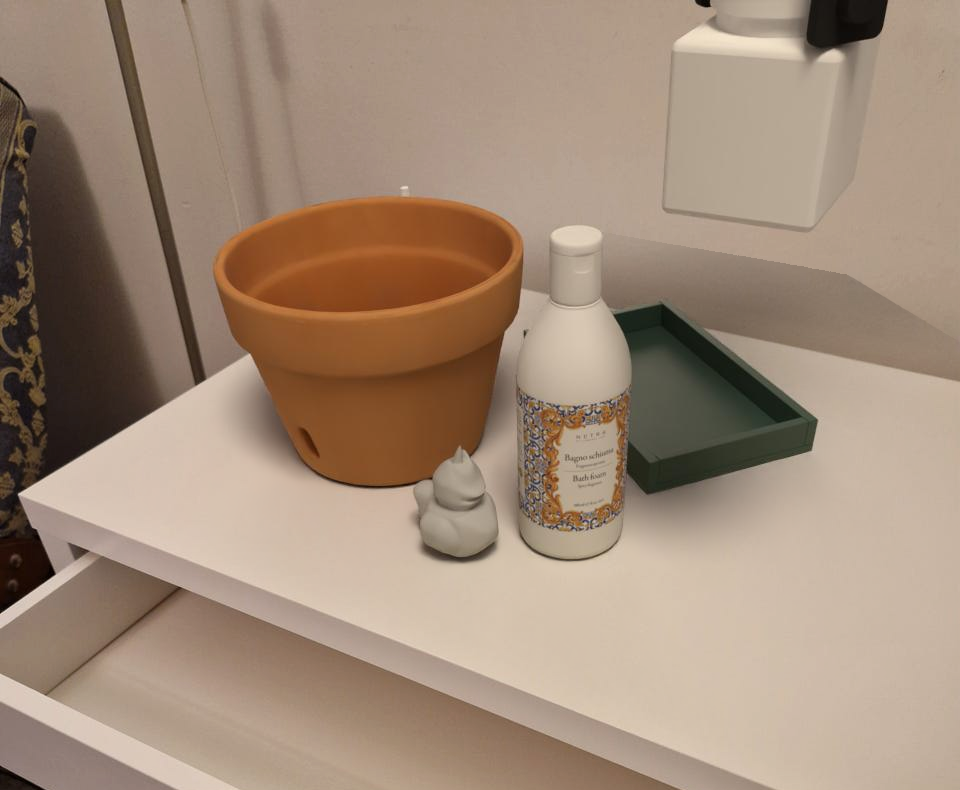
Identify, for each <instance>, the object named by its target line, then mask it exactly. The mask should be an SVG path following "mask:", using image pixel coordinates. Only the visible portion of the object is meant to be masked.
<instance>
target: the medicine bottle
mask: <svg viewBox="0 0 960 790" xmlns="http://www.w3.org/2000/svg"><path fill="white" fill-rule="evenodd" d="M710 5H711V7H710V8H712V9H714V10H716V14H715V15H713V16H711V17H710V18H708V19H707V20H705V21H704V22H703V23H701V24H699V25H697V26H695V28H693V29H691V30H690V31H688V32H687V33H686V34H684V35H683V36H681V37H680V38H678V39H676V41H675V42H673V44H672V47H671V53H670V68H669V69H670V70H669V85H668V102H667V118H666V133H665V147H664V164H663V165H664V166H663V179H662V180H663V181H662V195H661V196H662V197H661V198H662V199H661V208H662V210H663V211H664V212H665V213H666V214H672V215H678V216H684V217H690V218H691V217H692V218H700V219H706V220H713V221H720V222H725V223H727V222H728V223H734V224H741V225H748V226H753V227H762V228H769V229H776V230H782V231H789V232H796V233H797V232H798V233H803V234H804V233H805V234H806V233H807V234H808V233H810V232H811V231H813V230H814V229H815V228H816V226H817V225H818V224H819V222H821V220H822V219H823V218H824V216H825V215H826V214H827V213H828V212H829V210H830V209H831V208H832V207H833V205H834V204H835V203H836V202H837V200H838V199H839V198H840V197H841V195H842V194H844V192H845V191H846V189H847V188H848V187H849V186H850V184H851V183H852V182H853V180H854V178H855V177H856V170H857V165H858V160H859V154H860V149H861V144H862V140H863V139H862V138H863V133H864V128H865V122H866V117H867V112H868V107H869V106H868V105H869V102H870V97H871V96H870V95H871V90H872V87H873V80H874V76H875V70H876V64H877V58H878V53H879V48H880V42H881V38H882V33H883V30H882V31H881V33H880V34H879V35H878V36H877V37H876V38H873V39H868V40H862V41H857V42H851V43H845V44H840V45H834V46H829V47H823V48H818V47H815V46H812V45H810V44H809V43H808V42H807V36H806V33H807V26H808V19H809V12H810V5H811V0H710Z"/></svg>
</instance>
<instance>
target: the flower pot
mask: <svg viewBox="0 0 960 790" xmlns="http://www.w3.org/2000/svg"><path fill="white" fill-rule="evenodd" d="M524 249H525V248H524V241H523V238H522V235H521V233H520V232H519V231H518V229H517V227H515V226H514V225H513V224H512V223H511V222H510V221H508V220H507V219H506V218H504V217H502V216H500V215H498V214H496V213H494V212H492V211H489V210H487V209H484V208H482V207H479V206H475V205H472V204H468V203H464V202H460V201H455V200H448V199H441V198H433V197H421V196H411V197H400V195H397V196H395V195H393V196H392V195H391V196H390V195H388V196H386V195H385V196H382V195H381V196H368V197H356V198H354V197H353V198H348V199H347V198H346V199H339V200H332V201H326V202H321V203H317V204H311V205H307V206H303V207H300V208H296V209H293V210H289V211H286V212H284V213H280V214H278V215H274V216H272V217H270V218H267V219H265V220H262V221H260V222H257V223H255V224H253V225H251V226H249V227H247V228H245V229H244V230H242V231H240V232H238V233H236V234H235V235H234V236H232V237H230V238H229V239H228V240H227V241H226V242H225V243H224V244H223V245H222V246H221V247H220V249H219V250H218V252H217V253H216V255H215V257H214V259H213V263H212V274H213V280H214V283H215V285H216V289H217V292H218V296H219V299H220V302H221V305H222V309H223V312H224V316H225V318H226V322H227V324H228V328H229V332H230V334H231V336H232V337H233V339H234V340H235V342H236V343H237V345H238V346H240V348H242V350H243V351H245V352H247V353H248V354H250V356H251V358H252V360H253V363H254V364H255V367H256V369H257V371H258V373H259V375H260V377H261V379H262V381H263V384H264V386H265V388H266V389H267V392H268V394H269V397H270V398H271V400H272V402H273V405H274V406H275V408H276V411H277V413H278V415H279V417H280V419H281V421H282V424H283V425H284V428H285V430H286V432H287V434H288V437H290V440H291V441H292V444H293V445H294V448H295V449H296V451H297V453H298V455H299V456H300V458H301V459H302V460H303V462H304V463H305V464H306V465H308V467H310V468H311V469H312V470H314V471H315V472H317V473H318V474H320V475H323V476H324V477H327V478H329V479H331V480H333V481H334V480H335V481H337V482H343V483H346V484H351V485H358V486H369V487H371V486H372V487H373V486H374V487H384V486H385V487H386V486H399V485H404V484H411V483H417V482H420V481H423V480H429V479H431V478H433V474H434V472H435V470H436V469H437V468H438V467H439V466H440V465H441V464H442V463H443V462H444V461H446V460H447V459H450V458H452V457H454V455H455V453H456V451H457V449H458V447H459V446H461V449H462V450H463V449H464V450H465V451H466V452H467V454H468V455H469V456H470V455H472V454H473V452H474V451H475V450H476V449H477V447H478V445H479V444H480V441H481V439H482V436H483V433H484V430H485V427H486V425H487V422H488V417H489V412H490V408H491V403H492V398H493V394H494V393H493V392H494V388H495V382H496V378H497V371H498V366H499V362H500V356H501V352H502V347H503V341H504V337H505V334H506V331H507V330H508V329H509V328H510V327H511V325H512V324H513V323H514V322H515V319H516V317H517V315H518V312H519V309H520V304H521V303H520V302H521V294H522V285H523V284H522V283H523V272H524V271H523V270H524Z"/></svg>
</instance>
